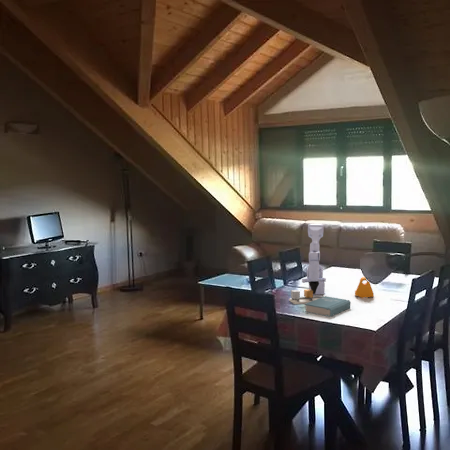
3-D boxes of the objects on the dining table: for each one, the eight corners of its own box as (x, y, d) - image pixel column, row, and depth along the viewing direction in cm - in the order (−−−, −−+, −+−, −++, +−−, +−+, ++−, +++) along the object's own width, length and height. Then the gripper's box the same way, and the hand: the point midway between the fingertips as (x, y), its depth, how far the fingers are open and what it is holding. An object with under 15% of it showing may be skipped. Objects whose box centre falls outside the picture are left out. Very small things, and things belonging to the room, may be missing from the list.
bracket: (372, 295, 344) (373, 276, 343) (373, 298, 337) (374, 278, 335) (354, 294, 346) (355, 275, 345) (355, 297, 339) (355, 278, 337)
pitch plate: (323, 298, 335) (323, 288, 335) (329, 302, 327) (329, 291, 326) (289, 300, 330) (289, 290, 330) (294, 304, 322) (294, 293, 321)
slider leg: (310, 296, 333) (310, 289, 332) (314, 299, 326) (314, 291, 325) (304, 297, 332) (304, 289, 331) (308, 300, 325) (308, 292, 325)
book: (325, 304, 323) (325, 296, 322) (350, 309, 313) (350, 300, 312) (305, 312, 305) (305, 303, 305) (331, 317, 295) (331, 308, 295)
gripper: (305, 273, 324) (304, 295, 325) (328, 272, 327) (327, 294, 329) (300, 271, 331) (300, 293, 332) (323, 269, 334) (322, 291, 336)
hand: (313, 293), depth 331 cm, fingers closed
